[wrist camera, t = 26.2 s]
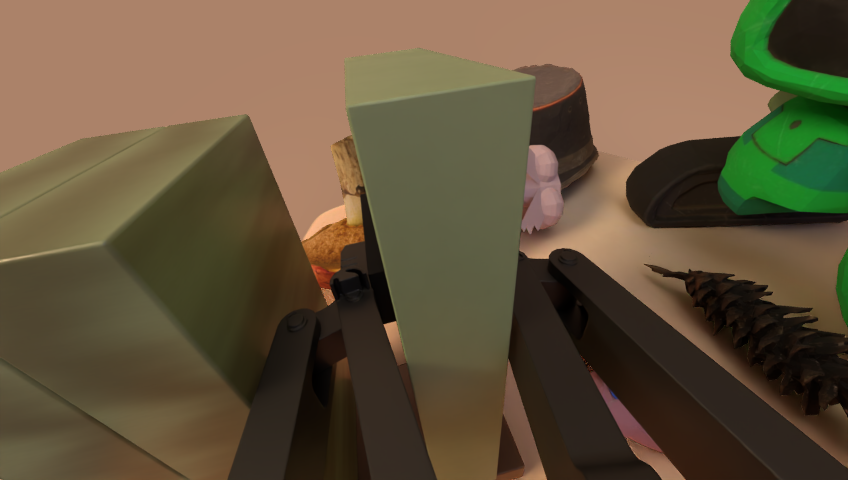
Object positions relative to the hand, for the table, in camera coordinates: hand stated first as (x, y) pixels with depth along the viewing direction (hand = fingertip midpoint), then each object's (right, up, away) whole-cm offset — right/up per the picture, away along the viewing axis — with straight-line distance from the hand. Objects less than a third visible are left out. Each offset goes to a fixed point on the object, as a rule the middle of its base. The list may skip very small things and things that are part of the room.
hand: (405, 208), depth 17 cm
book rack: (-2, -15, +3) cm, 15 cm away
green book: (+2, -12, +2) cm, 12 cm away
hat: (+17, +8, +32) cm, 37 cm away
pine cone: (+23, -10, +6) cm, 26 cm away
